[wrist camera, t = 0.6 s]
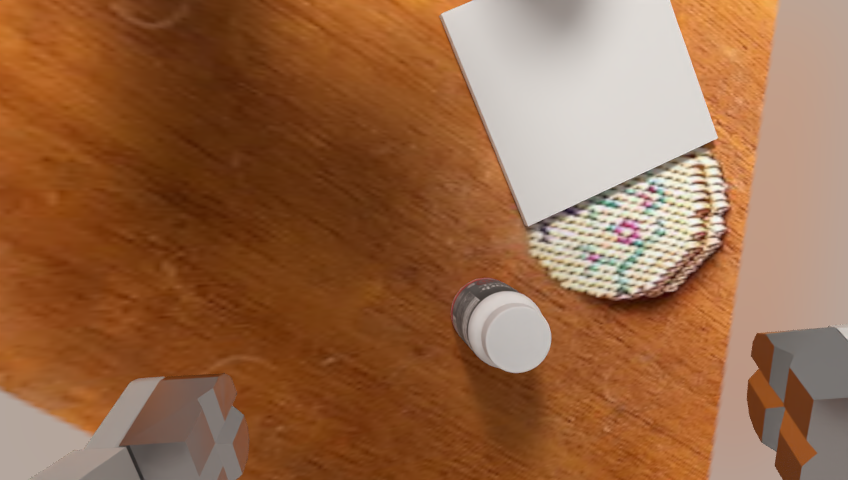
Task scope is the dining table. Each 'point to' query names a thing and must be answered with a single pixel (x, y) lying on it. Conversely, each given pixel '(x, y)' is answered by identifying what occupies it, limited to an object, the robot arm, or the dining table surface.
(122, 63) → the dining table surface
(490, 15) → the white square tile
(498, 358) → the pill bottle
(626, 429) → the dining table surface
